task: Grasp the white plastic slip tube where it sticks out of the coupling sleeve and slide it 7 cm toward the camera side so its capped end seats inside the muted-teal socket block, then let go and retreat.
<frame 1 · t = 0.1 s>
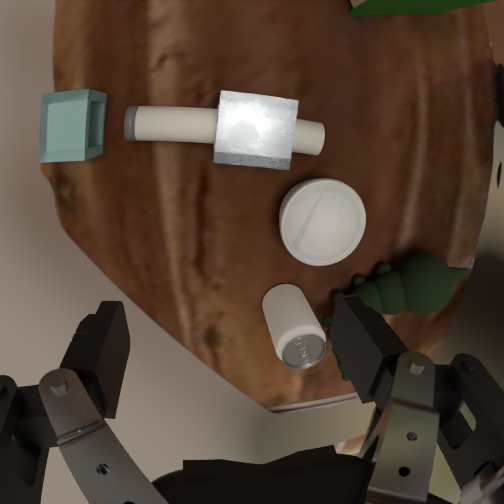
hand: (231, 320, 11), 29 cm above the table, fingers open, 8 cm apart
slip tube: (224, 127, 32), point 3 cm above the table, slide at 0.0 cm
socket: (83, 124, 32), on the table
sleeve: (248, 129, 36), on the table
can: (282, 300, 46), on the table
ramekin: (311, 212, 41), on the table
dark green lumpy piece: (378, 278, 48), on the table
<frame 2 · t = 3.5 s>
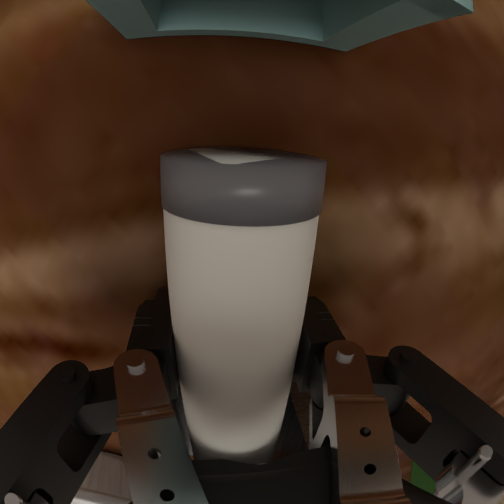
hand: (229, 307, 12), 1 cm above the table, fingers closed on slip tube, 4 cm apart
hardback book: (436, 451, 27), on the table
slip tube: (234, 427, 12), point 3 cm above the table, slide at 0.0 cm, touching gripper
sleeve: (227, 413, 16), on the table
ramekin: (110, 470, 19), on the table
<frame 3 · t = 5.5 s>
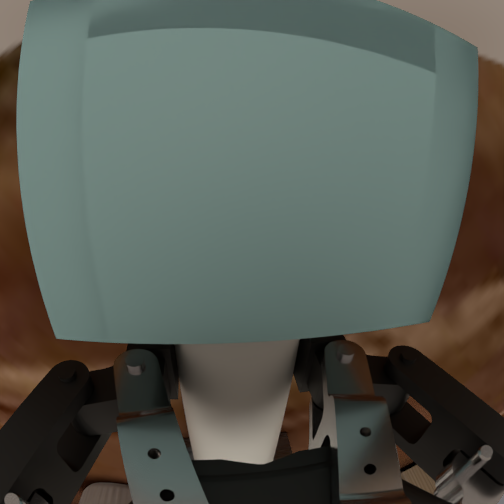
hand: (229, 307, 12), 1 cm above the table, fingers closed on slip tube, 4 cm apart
hardback book: (414, 474, 30), on the table
slip tube: (233, 427, 12), point 3 cm above the table, slide at 6.8 cm, touching gripper
socket: (233, 140, 10), on the table
sleeve: (228, 462, 19), on the table
ramekin: (130, 496, 21), on the table
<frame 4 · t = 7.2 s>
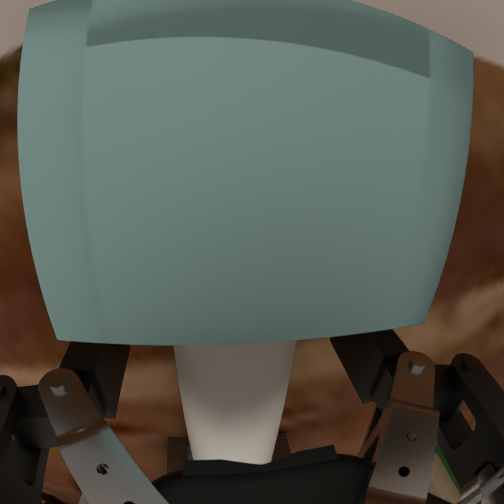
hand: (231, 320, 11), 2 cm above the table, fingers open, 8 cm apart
hardback book: (412, 474, 30), on the table
slip tube: (232, 426, 12), point 3 cm above the table, slide at 6.9 cm
socket: (231, 143, 10), on the table
sleeve: (227, 462, 19), on the table
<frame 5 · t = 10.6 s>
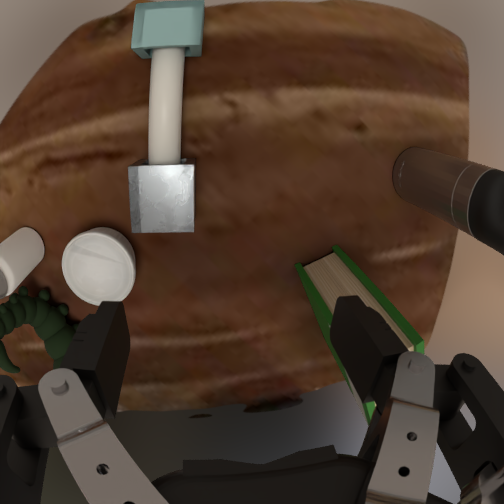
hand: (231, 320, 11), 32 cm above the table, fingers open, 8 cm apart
hardback book: (330, 295, 51), on the table
slip tube: (165, 114, 33), point 3 cm above the table, slide at 6.9 cm
socket: (172, 36, 31), on the table
sleeve: (167, 187, 40), on the table
can: (30, 244, 40), on the table
ramekin: (106, 255, 43), on the table
dark green lumpy piece: (70, 326, 47), on the table
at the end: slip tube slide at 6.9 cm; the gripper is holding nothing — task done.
